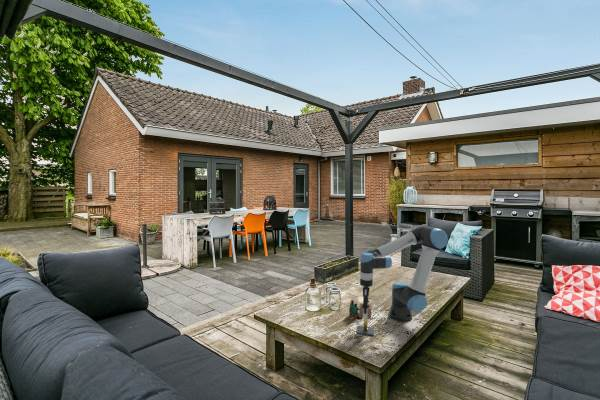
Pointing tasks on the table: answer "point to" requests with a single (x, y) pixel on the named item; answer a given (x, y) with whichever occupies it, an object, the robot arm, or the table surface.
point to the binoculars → (353, 310)
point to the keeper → (365, 329)
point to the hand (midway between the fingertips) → (365, 315)
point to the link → (362, 311)
